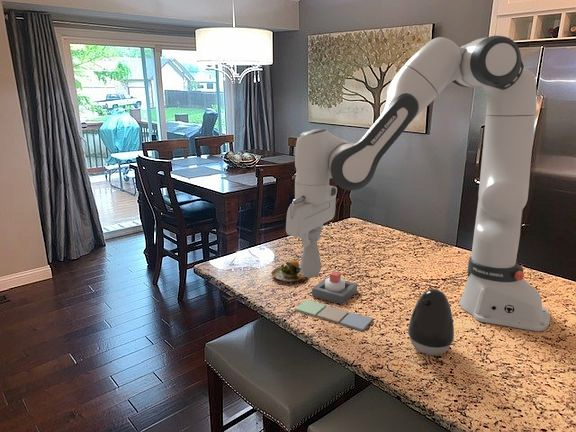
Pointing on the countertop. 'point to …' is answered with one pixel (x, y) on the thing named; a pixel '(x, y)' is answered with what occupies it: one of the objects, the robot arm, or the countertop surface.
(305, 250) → the salt shaker
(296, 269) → the bowl of food
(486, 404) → the countertop surface
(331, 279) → the dome
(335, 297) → the button housing
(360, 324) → the track
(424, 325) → the dark grey egg device
